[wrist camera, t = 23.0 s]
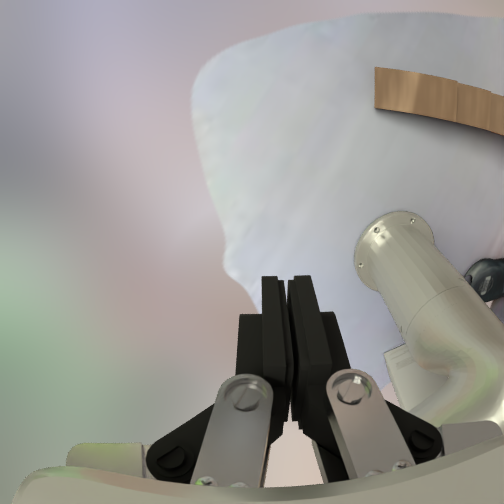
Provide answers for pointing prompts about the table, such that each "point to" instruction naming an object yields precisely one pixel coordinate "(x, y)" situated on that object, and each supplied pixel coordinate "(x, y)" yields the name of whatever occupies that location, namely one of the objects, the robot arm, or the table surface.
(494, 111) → the domino
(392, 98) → the domino
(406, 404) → the supplement box
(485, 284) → the electronic device
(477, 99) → the domino
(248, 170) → the table surface
